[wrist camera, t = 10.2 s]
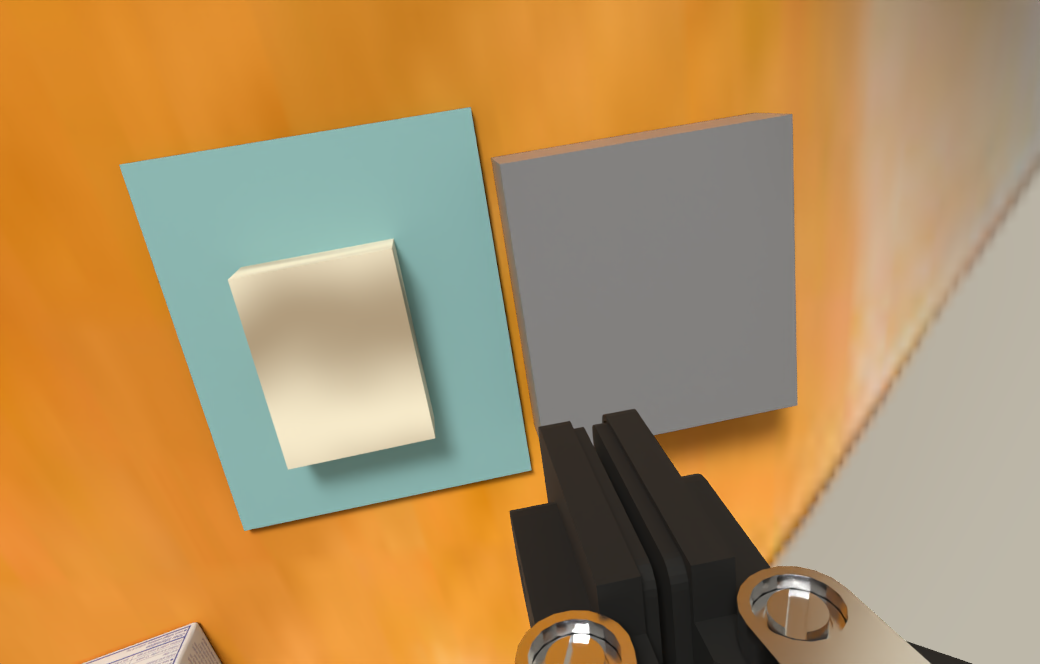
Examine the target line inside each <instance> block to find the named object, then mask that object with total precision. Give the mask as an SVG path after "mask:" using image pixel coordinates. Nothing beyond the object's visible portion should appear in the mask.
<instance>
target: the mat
mask: <svg viewBox="0 0 1040 664" xmlns="http://www.w3.org/2000/svg"><path fill="white" fill-rule="evenodd" d="M120 168H121V171H122V174H123V177H124V180H125V183H126V186H127V189H128V192H129V195H130V198H131V201H132V203H133V206H134V209H135V212H136V215H137V218H138V221H139V224H140V227H141V230H142V233H143V236H144V239H145V241H146V244H147V247H148V250H149V253H150V256H151V259H152V262H153V265H154V268H155V271H156V274H157V277H158V280H159V282H160V285H161V288H162V291H163V294H164V297H165V300H166V303H167V306H168V309H169V312H170V315H171V318H172V320H173V323H174V326H175V329H176V332H177V335H178V338H179V341H180V344H181V347H182V350H183V353H184V356H185V358H186V361H187V364H188V367H189V370H190V373H191V376H192V379H193V382H194V385H195V388H196V391H197V394H198V396H199V399H200V402H201V405H202V408H203V411H204V414H205V417H206V420H207V423H208V426H209V429H210V432H211V434H212V437H213V440H214V443H215V446H216V449H217V452H218V455H219V458H220V461H221V464H222V467H223V470H224V473H225V475H226V478H227V481H228V484H229V487H230V490H231V493H232V496H233V499H234V502H235V505H236V508H237V511H238V513H239V516H240V519H241V522H242V525H243V528H244V531H246V530H251V529H255V528H260V527H265V526H270V525H274V524H279V523H284V522H289V521H293V520H298V519H303V518H308V517H312V516H317V515H322V514H327V513H331V512H336V511H341V510H346V509H350V508H355V507H360V506H365V505H369V504H374V503H379V502H384V501H388V500H393V499H398V498H403V497H407V496H412V495H417V494H422V493H426V492H431V491H436V490H441V489H445V488H450V487H455V486H460V485H464V484H469V483H474V482H479V481H483V480H488V479H493V478H498V477H502V476H507V475H512V474H516V473H521V472H526V471H531V464H530V458H529V452H528V446H527V440H526V434H525V428H524V422H523V416H522V410H521V405H520V399H519V393H518V387H517V381H516V375H515V369H514V363H513V357H512V351H511V345H510V339H509V333H508V327H507V321H506V315H505V309H504V303H503V297H502V291H501V285H500V280H499V274H498V268H497V262H496V256H495V250H494V244H493V238H492V232H491V226H490V220H489V214H488V208H487V202H486V196H485V190H484V184H483V178H482V172H481V166H480V160H479V154H478V149H477V143H476V137H475V131H474V125H473V119H472V113H471V107H469V108H463V109H457V110H451V111H444V112H438V113H432V114H426V115H420V116H414V117H408V118H402V119H396V120H389V121H383V122H377V123H371V124H365V125H359V126H353V127H347V128H341V129H334V130H328V131H322V132H316V133H310V134H304V135H298V136H292V137H286V138H279V139H273V140H267V141H261V142H255V143H249V144H243V145H237V146H231V147H224V148H218V149H212V150H206V151H200V152H194V153H188V154H182V155H176V156H170V157H163V158H157V159H151V160H145V161H139V162H133V163H127V164H121V165H120ZM388 239H394V243H395V247H396V251H397V256H398V260H399V265H400V269H401V273H402V278H403V282H404V287H405V291H406V295H407V300H408V304H409V309H410V313H411V317H412V322H413V326H414V331H415V335H416V339H417V344H418V348H419V353H420V357H421V361H422V366H423V370H424V375H425V379H426V383H427V388H428V392H429V396H430V401H431V405H432V410H433V414H434V422H435V438H434V439H430V440H425V441H420V442H416V443H411V444H406V445H402V446H397V447H392V448H387V449H383V450H378V451H373V452H369V453H364V454H359V455H355V456H350V457H345V458H341V459H336V460H331V461H326V462H322V463H317V464H312V465H308V466H303V467H298V468H294V469H289V470H288V468H287V465H286V462H285V459H284V455H283V452H282V449H281V446H280V443H279V440H278V437H277V433H276V430H275V427H274V424H273V421H272V418H271V414H270V411H269V408H268V405H267V402H266V399H265V396H264V392H263V389H262V386H261V383H260V380H259V377H258V374H257V370H256V367H255V364H254V361H253V358H252V355H251V351H250V348H249V345H248V342H247V339H246V336H245V333H244V329H243V326H242V323H241V320H240V317H239V314H238V311H237V307H236V304H235V301H234V298H233V295H232V292H231V288H230V285H229V282H228V279H229V278H230V277H231V276H232V275H233V274H234V273H235V272H236V271H237V270H239V269H240V268H241V267H245V266H250V265H255V264H261V263H266V262H271V261H277V260H282V259H287V258H293V257H298V256H303V255H309V254H314V253H319V252H325V251H330V250H335V249H341V248H346V247H351V246H356V245H362V244H367V243H372V242H378V241H383V240H388Z"/></svg>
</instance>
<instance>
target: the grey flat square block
mask: <svg viewBox="0 0 1040 664" xmlns="http://www.w3.org/2000/svg"><path fill="white" fill-rule="evenodd" d="M491 160H492V167H493V173H494V179H495V185H496V191H497V197H498V204H499V210H500V216H501V222H502V228H503V234H504V241H505V247H506V253H507V259H508V265H509V271H510V278H511V284H512V290H513V296H514V302H515V308H516V314H517V321H518V327H519V333H520V339H521V345H522V351H523V358H524V364H525V370H526V376H527V382H528V388H529V395H530V401H531V407H532V413H533V419H534V425H535V428H536V431H537V434H538V437H539V432H538V427H540V426H545V425H550V424H556V423H561V422H566V421H570V422H571V423H572V426H573V428H580V427H584V428H585V430H586V432H587V434H588V436H589V438H590V440H591V442H592V444H593V434H592V426H593V425H595V424H601V423H602V416H603V414H609V413H614V412H619V411H624V410H630V409H636V411H637V412H638V413H639V415H640V416H641V418H642V419H643V421H644V422H645V424H646V425H647V427H648V428H649V430H650V431H651V433H652V434H653V435H658V434H662V433H667V432H672V431H677V430H681V429H686V428H691V427H696V426H700V425H705V424H710V423H715V422H720V421H724V420H729V419H734V418H739V417H743V416H748V415H753V414H758V413H763V412H767V411H772V410H777V409H782V408H786V407H791V406H796V405H797V357H796V299H795V240H794V182H793V123H792V114H774V113H751V114H745V115H739V116H733V117H727V118H722V119H716V120H710V121H704V122H698V123H692V124H686V125H681V126H675V127H669V128H663V129H657V130H651V131H645V132H639V133H634V134H628V135H622V136H616V137H610V138H604V139H598V140H593V141H587V142H581V143H575V144H569V145H563V146H557V147H551V148H546V149H540V150H534V151H528V152H522V153H516V154H510V155H505V156H499V157H493V158H491ZM593 446H594V444H593Z"/></svg>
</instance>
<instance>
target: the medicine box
mask: <svg viewBox="0 0 1040 664" xmlns="http://www.w3.org/2000/svg"><path fill="white" fill-rule="evenodd" d="M82 664H222V663H221V661H220V659H219V658H218V656H217V655H216V653H215V651H214V650H213V648H212V646H211V644H210V643H209V641H208V639H207V637H206V636H205V634H204V632H203V631H202V629H201V628H200V626H199V624H198V623H197V622H195V623H191V624H189V625H186V626H183V627H181V628H178V629H175V630H173V631H170V632H167V633H164V634H162V635H159V636H156V637H154V638H151V639H148V640H145V641H143V642H140V643H137V644H135V645H132V646H129V647H126V648H123V649H121V650H118V651H115V652H112V653H110V654H107V655H104V656H102V657H99V658H96V659H93V660H91V661H88V662H85V663H82Z"/></svg>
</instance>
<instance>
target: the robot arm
mask: <svg viewBox="0 0 1040 664" xmlns="http://www.w3.org/2000/svg"><path fill="white" fill-rule="evenodd" d="M538 432H539V441H540V448H541V455H542V462H543V469H544V476H545V483H546V490H547V497H548V503H547V504H542V505H536V506H531V507H526V508H521V509H516V510H511V511H510V518H511V524H512V531H513V537H514V543H515V549H516V554H517V560H518V566H519V571H520V577H521V582H522V587H523V593H524V598H525V602H526V607H527V612H528V617H529V622H530V626H531V629H529V630H528V631H527V632H526V634H525V635H524V637H523V638H522V640H521V642H520V643H519V645H518V649H517V653H516V658H515V664H972V663H968V662H965V661H963V660H960V659H957V658H954V657H951V656H948V655H945V654H942V653H939V652H937V651H933V650H930V649H928V648H925V647H922V646H919V645H916V644H913V643H910V642H907V641H905V640H904V639H903V638H902V637H901V636H900V635H898V634H897V633H896V632H895V631H894V630H893V629H892V628H891V627H889V626H888V625H887V624H886V623H885V622H884V621H883V620H882V619H881V618H880V617H878V616H877V615H876V614H875V613H874V612H873V611H872V610H871V609H869V608H868V607H867V606H866V605H865V604H864V603H863V602H862V601H861V600H860V599H858V598H857V597H856V596H855V595H854V594H853V593H852V592H851V591H850V590H848V589H847V588H846V587H845V586H843V585H842V584H840V583H839V582H837V581H836V580H835V579H833V578H831V577H829V576H827V575H824V574H822V573H819V572H817V571H815V570H810V569H805V568H801V567H793V566H778V567H773V568H770V566H769V565H768V563H767V562H766V561H765V559H764V558H763V557H762V555H761V554H760V552H759V551H758V550H757V548H756V547H755V546H754V544H753V543H752V542H751V540H750V539H749V537H748V536H747V535H746V533H745V532H744V531H743V529H742V528H741V527H740V525H739V524H738V522H737V521H736V520H735V518H734V517H733V516H732V514H731V513H730V511H729V510H728V509H727V507H726V506H725V505H724V503H723V502H722V501H721V499H720V498H719V496H718V495H717V494H716V492H715V491H714V490H713V488H712V487H711V486H710V484H709V483H708V481H707V480H706V479H705V478H704V477H703V476H702V475H701V474H693V475H688V476H683V477H681V476H680V474H679V473H678V471H677V470H676V468H675V467H674V465H673V464H672V462H671V461H670V459H669V458H668V456H667V455H666V453H665V452H664V450H663V449H662V447H661V446H660V444H659V443H658V441H657V440H656V439H655V437H654V436H653V434H652V433H651V431H650V430H649V428H648V427H647V425H646V424H645V422H644V421H643V419H642V418H641V416H640V415H639V413H638V412H637V411H636V409H630V410H624V411H619V412H614V413H609V414H603V416H602V423H601V424H595V425H593V426H592V434H593V444H594V446H593V444H592V442H591V440H590V438H589V436H588V434H587V432H586V430H585V428H584V427H580V428H573V426H572V423H571V422H570V421H566V422H561V423H556V424H550V425H545V426H540V427H538Z"/></svg>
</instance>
